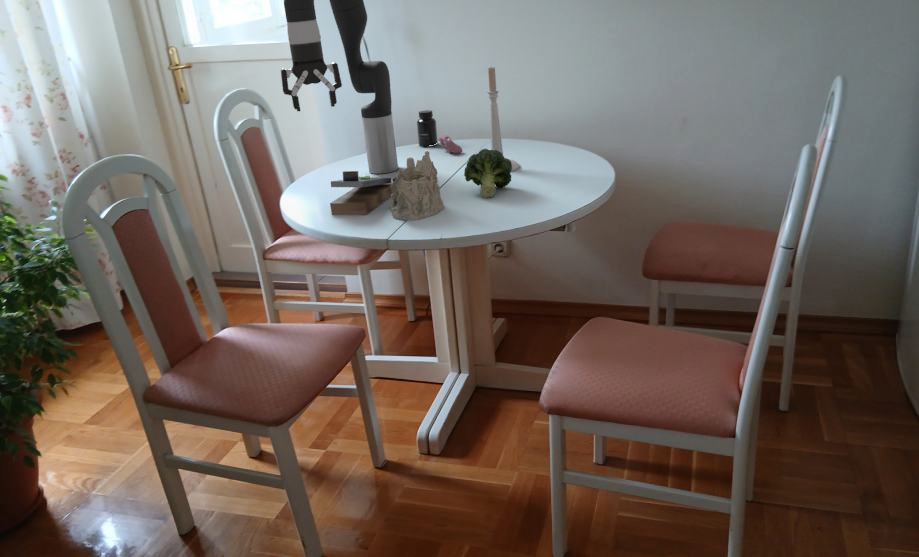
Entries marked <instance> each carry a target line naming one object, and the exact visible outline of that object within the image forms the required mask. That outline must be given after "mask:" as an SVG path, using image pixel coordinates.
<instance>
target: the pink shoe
mask: <svg viewBox="0 0 919 557" xmlns="http://www.w3.org/2000/svg"><path fill="white" fill-rule="evenodd" d="M438 145H439V146H442V147H443V148H444V149H445V151H446V150H447V151H446V152H448V153H449V152H450V153H449V154H452V153H454V154H457V153H461V152H462V153H463V148H462V147H461V146H460V145H458V144H457V143H455V142H454V141H453V140H452V139H451V137H450V136H449V135H441V136H440V137H439V138H438ZM451 152H452V153H451ZM462 153H461V154H462Z"/></svg>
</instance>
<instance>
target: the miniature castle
mask: <svg viewBox="0 0 919 557" xmlns="http://www.w3.org/2000/svg"><path fill="white" fill-rule="evenodd" d="M398 172H399V173H398V174H397V176H396V177H397V179H396V180H395V181H394V183H393V182H392V183H393V184H392V185H391V186H390V189H391V190H392V194H391V197H390V198H391V202H390V205H389V210H390V213H391V216H392V218H393V219H394V220H398V221H400V220H401V221H407V222H409V221H410V222H412V221H419V220H422V219H425V218H429V217H432V216H435V215H437V214H438V213H440V212H441V211H442V210H443V209H444V208H445V205H444V202H443V199H442V196H441V187H440V185H439V184H438V176H437V175H438V170H437V168H436V167H435V165H434V161H432V159H431V156H430V151H428V150H426V151H424V154H423V155H422V158H421V159H417V160H416V163H415V159H414V158H413V157H407V159H406V168H403V169H400V170H399V171H398Z"/></svg>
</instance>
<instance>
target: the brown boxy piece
mask: <svg viewBox="0 0 919 557" xmlns="http://www.w3.org/2000/svg"><path fill="white" fill-rule="evenodd" d="M396 179H397V176H396V177H395V176H394V177H393V178H392V183H388V184H381V185H375V186H368V187H352V189H351V190H348V191H347V192H345V193H344V194H342V195H340V196H339V197H337V198H336V199H334V200H332V201H331V202H330V203H329V205H330V206H329V207H330V212H331V215H341V216H342V215H344V216H345V215H347V216H348V215H351V216H355V215H356V216H357V215H358V216H367V215H368V214H370V213H371V212H372V211H374V210H375V209H376V208H378V207H379V206H381V205H382V204H384V203H385V202H386V201H388V200H389V199H390V198H392V197H391V194H392V190H391V189H390V186H391V185H392V184H393V183H394V181H395V180H396Z"/></svg>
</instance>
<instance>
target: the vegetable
mask: <svg viewBox="0 0 919 557" xmlns="http://www.w3.org/2000/svg"><path fill="white" fill-rule="evenodd" d="M509 159H510V158H507V157H505V156H504V153H503V154H502V153H501V152H500V151H497V150H491V149H488V148H483V149H482V148H481V149H480V150H479V151H478V153H475V154H471V155H470V156H469V157H468V161H467V163H466V167H465V168H464V173H463V174H464V175H463V176H464V177H465V178H464V179H465V181H466V182H470V181H472V182H473V184H475V185H476V186H478V187H479V186H480V194H481V197H483V198H485V199H491V198H493V197H494V196H495V195H496V188H497V189H499V190H500V189H503V188H505V187H506V186H508V185H509V184H510V183H511V181H512V174H511V170H512V164H511V161H510V160H511V159H510V160H509Z"/></svg>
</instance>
